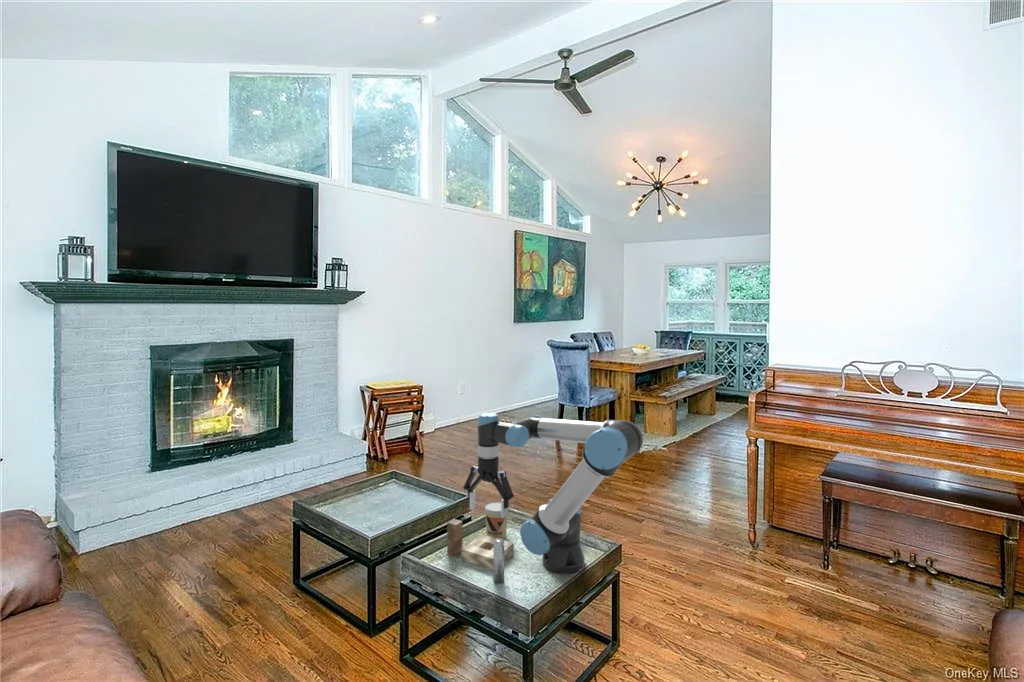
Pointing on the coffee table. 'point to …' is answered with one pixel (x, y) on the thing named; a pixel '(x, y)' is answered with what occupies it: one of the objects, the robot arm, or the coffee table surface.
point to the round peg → (498, 561)
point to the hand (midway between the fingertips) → (487, 512)
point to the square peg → (454, 537)
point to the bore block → (484, 551)
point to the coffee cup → (495, 521)
